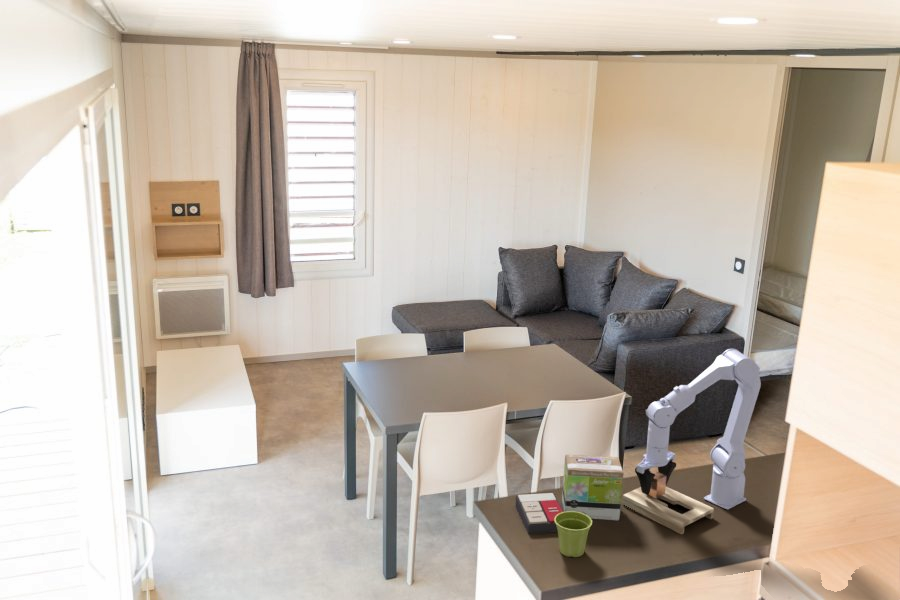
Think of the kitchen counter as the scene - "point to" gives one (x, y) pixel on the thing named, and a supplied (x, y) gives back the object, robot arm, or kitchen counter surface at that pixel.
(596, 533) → the kitchen counter surface
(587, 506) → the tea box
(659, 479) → the peg
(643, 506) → the keyhole plate
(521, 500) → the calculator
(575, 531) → the plant pot
